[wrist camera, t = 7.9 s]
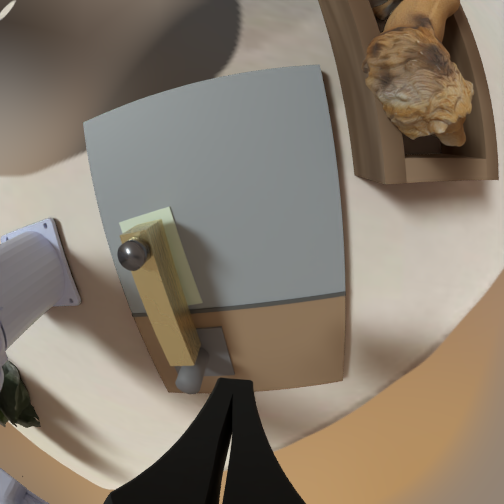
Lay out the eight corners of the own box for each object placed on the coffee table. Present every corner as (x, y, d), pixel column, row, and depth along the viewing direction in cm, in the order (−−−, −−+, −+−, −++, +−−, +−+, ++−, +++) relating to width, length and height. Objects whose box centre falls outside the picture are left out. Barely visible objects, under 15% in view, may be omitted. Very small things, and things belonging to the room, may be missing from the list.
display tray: (354, 175, 16) (385, 184, 12) (306, -32, 11) (314, -71, 6) (454, 170, 15) (498, 179, 11) (407, -20, 10) (433, -46, 5)
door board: (170, 386, 24) (157, 421, 19) (89, 123, 16) (49, 121, 11) (340, 374, 22) (350, 412, 18) (317, 68, 14) (332, 43, 10)
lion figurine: (399, 156, 15) (493, 170, 7) (326, 125, 15) (385, 100, 7) (429, 1, 10) (490, -41, 2) (368, -30, 10) (409, -93, 2)
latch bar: (201, 343, 19) (191, 375, 16) (179, 345, 20) (166, 375, 16) (161, 218, 16) (138, 235, 13) (137, 224, 16) (110, 241, 13)
